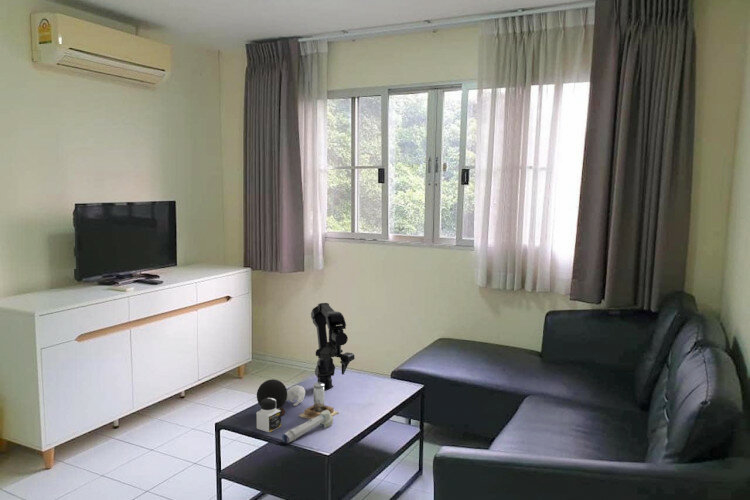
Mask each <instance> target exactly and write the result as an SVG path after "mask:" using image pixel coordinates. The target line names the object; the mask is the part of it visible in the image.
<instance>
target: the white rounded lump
mask: <svg viewBox="0 0 750 500" xmlns="http://www.w3.org/2000/svg"><path fill="white" fill-rule="evenodd" d="M305 395H306V390H305V388H304V386H301V385H294V386H292V387H289V389H288V390H287V399H286V402H288V401H290V403H293V406H294V407H296V406H298V405H299V404H301V403H302V402H303V401H304V399H305ZM294 400H296V402H295V401H294Z"/></svg>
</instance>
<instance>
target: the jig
mask: <svg viewBox="0 0 750 500" xmlns="http://www.w3.org/2000/svg"><path fill="white" fill-rule="evenodd" d="M325 410H328V411H330V414H331V416H333V417H335V416H337V415H339V411H337V410H334V407H332V406H329V405H325V404H324V411H325ZM303 411H304V412H302V413H300V414H299V417H300V418H303V419H306V420H308V421H309V420H311V419H313V418H315V417H317V416H319V415H321V412H316V411H314V404H313V405H311V406H310V407H307V408H305V409H304V410H303ZM322 412H323V411H322Z"/></svg>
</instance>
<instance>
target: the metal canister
mask: <svg viewBox="0 0 750 500" xmlns="http://www.w3.org/2000/svg"><path fill="white" fill-rule="evenodd" d="M313 405H314V411H316V412H322V411H324V405H325V390H324V383H322V382H318V381H317V382H315V383H313Z"/></svg>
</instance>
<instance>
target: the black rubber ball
mask: <svg viewBox="0 0 750 500" xmlns="http://www.w3.org/2000/svg"><path fill="white" fill-rule="evenodd" d="M287 391H288V390H287V387H286V385H285V384H284V383H283V382H282V381H280V380H278V379H272V378H271V379H268V380H265V381H263V382H262V383H260V386H259V387H258V389H257V391H256V400H257V403H258V404H259V406H260V407H261V401H262V400H263V399H265V398H273V399H275V400H276V409H278V410H281V418H282V417H283V416H285V415H286V409H285V408H284V407H283V406H284V405H285V403H286V402H287V401H286V399H287Z"/></svg>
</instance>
